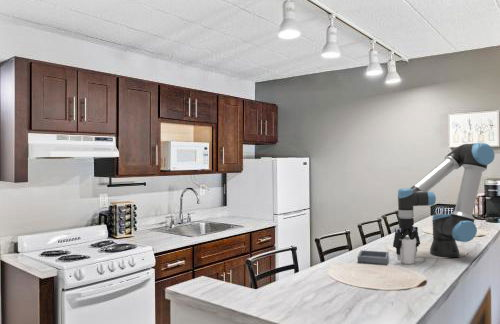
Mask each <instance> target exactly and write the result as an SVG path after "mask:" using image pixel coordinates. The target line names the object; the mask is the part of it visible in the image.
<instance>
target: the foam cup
mask: <svg viewBox="0 0 500 324" xmlns="http://www.w3.org/2000/svg"><path fill="white" fill-rule="evenodd" d="M399 240H402V246H401V249H402V261H400V263H401V264H405V265H412V264H414V263H415V259H414V256H415V247H416V238H414V239H413V240H411V239H410V238H409V236H408V235H406V237H405V238H404V239H399Z"/></svg>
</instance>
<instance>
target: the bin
mask: <svg viewBox="0 0 500 324" xmlns="http://www.w3.org/2000/svg"><path fill="white" fill-rule="evenodd" d="M389 254H390V252H388V251H377V250H376V251H374V250H360V252H359V253H358V256H357V264H363V265H365V264H366V265H378V266H380V265H381V266H388V263H389V258H390V257H389V256H390V255H389Z"/></svg>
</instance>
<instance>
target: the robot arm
mask: <svg viewBox="0 0 500 324" xmlns="http://www.w3.org/2000/svg"><path fill="white" fill-rule="evenodd" d="M495 156H496V155H495V151H494V149H493V147H492V146H491V145H490V144H488V143H485V142H476V143H464V144H463V143H462V144H461V145H459V146H457V147H456V148H454V149H453V150H451V152H450V151H449V153H448V154H447V155H446V156H444V159H443V160H442V161H441V162H440V163H438V165H436V166H435V167H434V168H432V169H431V170H430V171H429V172H428V173H427V174H425V175H424V176H423V177H422V178H420V179H419V180H418V181H417V182H416V183H414V185H413V186H411V187H410V188H398V191H397V205H398V206H397V207H398V210H397V211H398V212H397V213H398V217H399V218H398V226H399V228H394V237H393V238H394V239H393V242H392V247H393V248H395V249H396V255H397V256H396V257H397V258H396V260H397V261H400V262H401V261H402V249H401V246H402V240H399V239H404V238H405V237H406V236H407V237H409V238H410V239H411V240H413V239H414V238H416V247H415V256H414V260H416V259H417V258H418V255H417V254H418V247H420V245H421V239H420V236H419V232H418V231H419V229H418V228H419V227H418V226H414V223H415V221H414V220H415V219H414V216H415V215H414V214H415V213H414V207H426V206H427V207H428V206H429V207H430V206H433V205H435V204H436V202H437V199H436V198H437V197H436V194H435V193H434V192H433V191H430V190H432V189H433V188H434V187H435V186H436V185H438V184H439V183H440V182H442V180H443V179H445V178H446V177H447V176H448V175H450V174H451V173H452V172H453V171H455V170H459V169H460V168H461V167H463V168H464V171H463V174H462V178H461V183H460V186H459V192H458V194H457V200H456V204H455V208H454V211H452V212H451V213H449V214H448V213H446V214H445V213H444V214H443V213H441V214H440V213H439V214H434V215H433V216H432V243H431V245H430V249H429V253H430V255H433V256H436V257H441V258H442V257H443V258H456V257H459V256H460V249H459V246H458V243H457V242H463V243H468V242H470V241H472V240H473V239H474V238H475V237H476V236H477V232H478V229H477V227H476V226H477V225H476V224H475V217H474V216H473V215H474V210H475V209H474V208H475V204H476V201H477V197H478V193H479V192H478V191H479V187H480V183H481V180H482V179H481V178H482V175H483V172H485V171H487V168H488V165H490V164H491V163H493V161H494V160H495Z"/></svg>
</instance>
